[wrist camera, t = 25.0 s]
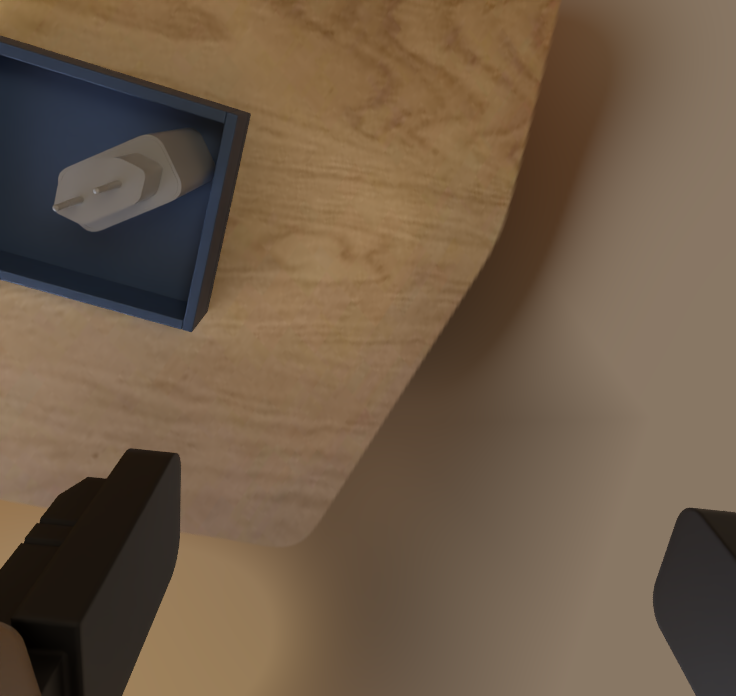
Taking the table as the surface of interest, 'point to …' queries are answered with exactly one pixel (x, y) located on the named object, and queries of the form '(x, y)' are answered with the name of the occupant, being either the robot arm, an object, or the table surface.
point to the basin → (88, 138)
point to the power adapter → (133, 178)
